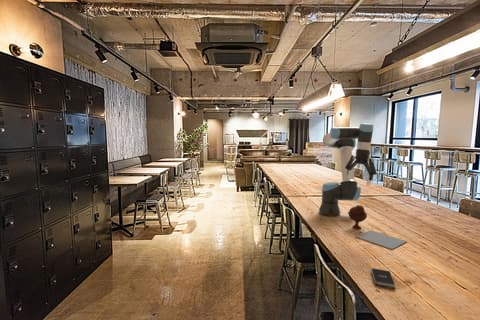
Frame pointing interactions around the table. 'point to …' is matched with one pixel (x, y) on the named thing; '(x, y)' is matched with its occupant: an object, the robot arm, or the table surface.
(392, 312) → the table surface
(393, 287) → the external hard drive
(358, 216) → the ice cream bowl
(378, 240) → the grey mat
